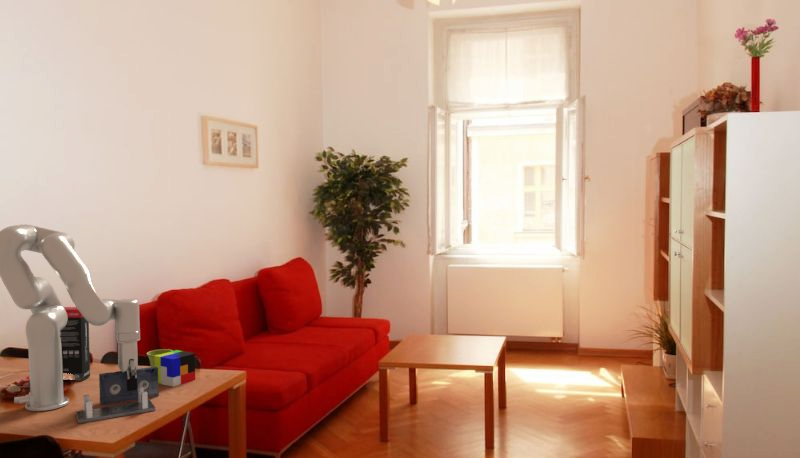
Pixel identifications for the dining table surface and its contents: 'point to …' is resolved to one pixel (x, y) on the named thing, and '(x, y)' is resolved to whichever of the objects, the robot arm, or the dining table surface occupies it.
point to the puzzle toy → (175, 367)
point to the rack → (114, 408)
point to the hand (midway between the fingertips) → (129, 386)
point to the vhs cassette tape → (116, 385)
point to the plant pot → (154, 353)
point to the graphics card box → (75, 345)
